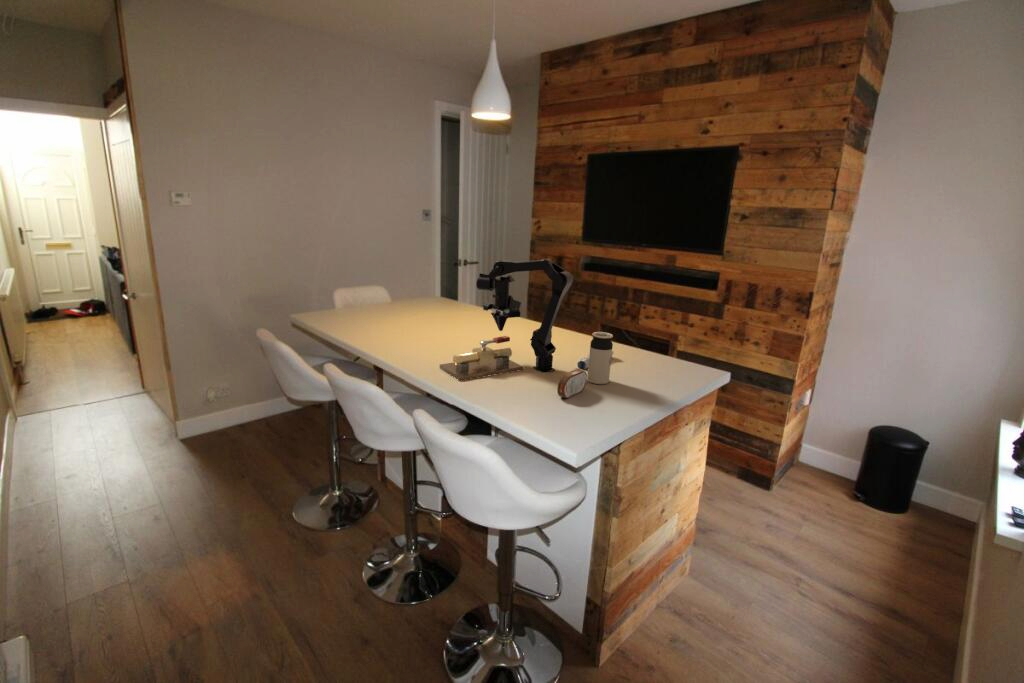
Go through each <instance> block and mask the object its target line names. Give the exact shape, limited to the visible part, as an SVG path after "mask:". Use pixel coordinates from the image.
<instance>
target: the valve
mask: <svg viewBox="0 0 1024 683" xmlns="http://www.w3.org/2000/svg"><path fill="white" fill-rule="evenodd" d="M512 355H513V351H512V349H511V347H504V348H498V349H493V348H490V347H488V346H487V345H481V347H475V348H474V347H473V348H472V352H467V353H462V354H454V355H453V358H452V362H450V363H449V362H448V363H441V364H439V369H440V370H441V369H442V370H441V371H443V372H445V373H446V372H447V373H446V374H448V375H449V374H450V375H449V376H450V377H452V376H453V377H452V378H454V377H455V378H456V380H457V379H458V380H459V381H458V380H457V381H458V382H461V381H460V380H462V381H466V380H465V379H468V380H471V379H470V378H474V379H478V378H477V377H480V378H484V377H483V376H486V377H489V376H488V375H491V376H495V375H494V374H497V375H501V374H500V373H503V374H507V373H506V372H509V373H512V372H511V371H515V372H518V371H517V370H521V371H523V370H524V366H523V365H521V364H519V363H517V362H515V361H513V360H511V359H510V358H511V357H512ZM455 378H454V379H455Z"/></svg>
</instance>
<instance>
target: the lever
mask: <svg viewBox="0 0 1024 683" xmlns="http://www.w3.org/2000/svg"><path fill="white" fill-rule="evenodd" d="M510 341H511V337H510V336H507V335H503V336H498V337H493V339H490V340H480V341H479V345H481V346H482V345H486V346H487V345H489V344H490V345H491V344H493V343H495V344H503V343H507V342H510Z"/></svg>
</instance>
